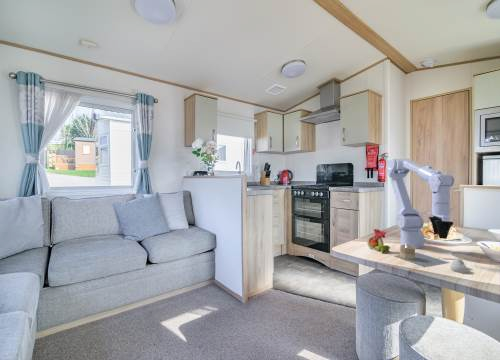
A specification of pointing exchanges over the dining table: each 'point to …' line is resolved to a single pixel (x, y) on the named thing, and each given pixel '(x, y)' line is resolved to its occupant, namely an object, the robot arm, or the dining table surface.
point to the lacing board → (424, 260)
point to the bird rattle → (374, 242)
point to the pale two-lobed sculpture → (459, 266)
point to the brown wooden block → (407, 252)
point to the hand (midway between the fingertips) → (440, 236)
